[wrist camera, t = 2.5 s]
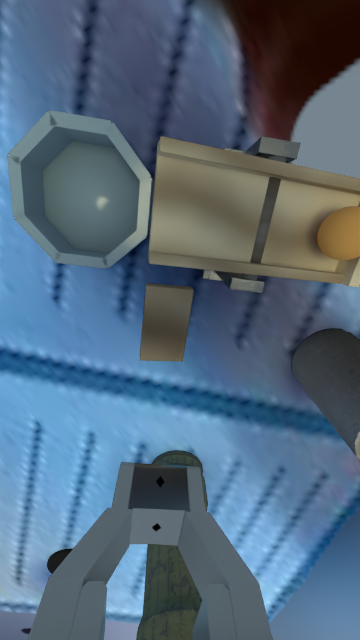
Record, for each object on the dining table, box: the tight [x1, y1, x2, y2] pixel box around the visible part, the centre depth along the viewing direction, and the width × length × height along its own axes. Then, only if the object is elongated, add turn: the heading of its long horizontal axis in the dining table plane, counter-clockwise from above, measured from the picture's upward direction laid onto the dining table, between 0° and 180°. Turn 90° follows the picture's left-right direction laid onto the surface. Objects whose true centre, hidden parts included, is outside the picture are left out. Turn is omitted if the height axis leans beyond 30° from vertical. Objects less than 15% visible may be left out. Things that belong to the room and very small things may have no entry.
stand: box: [202, 136, 300, 293], centre depth 24 cm, size 13×6×8 cm, turn 172°
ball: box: [317, 206, 360, 260], centre depth 20 cm, size 4×4×4 cm
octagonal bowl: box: [7, 110, 154, 269], centre depth 25 cm, size 12×12×5 cm
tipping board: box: [140, 136, 360, 361], centre depth 21 cm, size 18×18×3 cm
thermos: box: [136, 450, 208, 640], centre depth 26 cm, size 9×12×35 cm
